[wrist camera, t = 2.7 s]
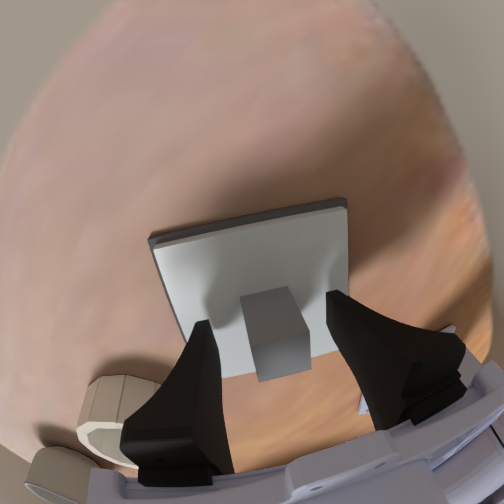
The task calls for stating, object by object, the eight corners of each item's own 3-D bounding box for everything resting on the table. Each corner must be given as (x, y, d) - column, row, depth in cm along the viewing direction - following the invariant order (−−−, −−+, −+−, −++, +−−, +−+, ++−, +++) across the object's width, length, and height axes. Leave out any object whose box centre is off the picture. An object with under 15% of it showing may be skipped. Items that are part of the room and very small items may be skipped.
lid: (341, 206, 13) (388, 236, 9) (341, 341, 17) (367, 387, 13) (155, 244, 12) (136, 291, 9) (204, 374, 16) (206, 427, 13)
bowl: (164, 370, 16) (160, 420, 13) (200, 428, 20) (202, 468, 16) (70, 377, 16) (55, 419, 12) (118, 432, 19) (113, 468, 16)
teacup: (55, 462, 23) (47, 504, 16) (22, 425, 19) (7, 477, 11) (144, 482, 25) (143, 530, 18) (127, 453, 21) (122, 516, 14)
